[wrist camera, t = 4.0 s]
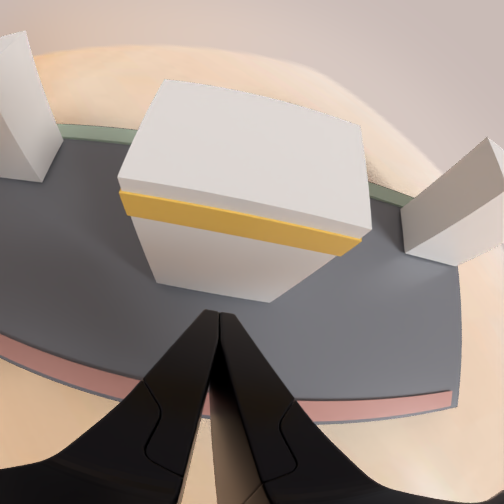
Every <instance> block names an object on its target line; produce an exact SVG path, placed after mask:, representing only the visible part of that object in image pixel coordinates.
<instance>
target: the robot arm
mask: <svg viewBox="0 0 504 504" xmlns="http://www.w3.org/2000/svg"><path fill="white" fill-rule="evenodd" d="M208 387H209V402H210V420H211V435H212V449H213V462H214V474H215V485H216V495H217V504H504V490H502V491H500V492H499V493H497V494H496V495H495V496H493V497H491V498H490V499H488V500H487V501H484V502H478V503H462V502H454V501H447V500H440V499H434V498H429V497H424V496H419V495H414V494H409V493H405V492H401V491H397V490H393V489H389V488H387V487H385V486H382V485H381V484H379V483H377V482H375V481H374V480H372V479H371V478H370V477H368V476H367V475H366V474H365V473H364V472H363V471H362V470H360V469H359V468H358V467H357V466H356V465H355V464H354V463H353V462H352V461H351V460H350V459H349V458H348V457H347V456H346V455H345V454H344V453H343V452H342V451H341V450H340V449H338V448H337V447H336V446H335V445H334V444H333V443H332V442H331V441H330V440H329V438H328V437H327V436H326V435H325V434H324V433H323V432H322V431H321V430H320V429H319V428H318V427H317V426H316V424H315V423H314V422H313V421H312V420H311V418H310V417H309V416H308V415H307V413H306V412H305V411H304V410H303V408H302V407H301V406H300V404H299V403H298V402H297V401H296V400H295V398H294V396H293V395H292V394H291V392H290V391H289V390H288V388H287V387H286V386H285V384H284V383H283V382H282V380H281V379H280V377H279V376H278V375H277V373H276V372H275V371H274V369H273V368H272V366H271V365H270V364H269V362H268V361H267V359H266V358H265V357H264V355H263V354H262V352H261V351H260V350H259V348H258V347H257V345H256V344H255V342H254V341H253V340H252V338H251V337H250V335H249V334H248V332H247V331H246V329H245V328H244V327H243V325H242V324H241V322H240V321H239V319H238V318H237V316H236V315H235V314H233V313H227V312H220V313H219V312H218V311H215V310H209V309H204V310H203V311H202V312H201V313H200V314H199V315H198V316H197V318H196V319H195V320H194V321H193V322H192V323H191V324H190V325H189V327H188V328H187V329H186V330H185V331H184V332H183V333H182V335H181V336H180V337H179V338H178V339H177V340H176V341H175V342H174V344H173V345H172V346H171V347H170V348H169V349H168V350H167V352H166V353H165V354H164V355H163V356H162V357H161V358H160V359H159V361H158V362H157V363H156V364H155V365H154V366H153V367H152V368H151V370H150V371H149V372H148V373H147V374H146V375H145V376H144V377H143V379H142V380H141V381H140V382H139V383H138V384H137V385H136V386H135V387H134V389H133V390H132V391H131V392H130V393H129V394H128V395H127V396H126V397H125V398H124V399H123V400H122V401H121V402H120V403H119V404H118V405H117V406H116V407H115V408H114V409H112V410H111V411H110V412H109V413H108V414H107V415H106V416H105V417H103V418H102V419H101V420H100V421H99V422H97V423H96V424H95V425H94V426H92V427H91V428H90V429H89V430H87V431H86V432H85V433H84V434H82V435H81V436H80V437H79V438H77V439H76V440H75V441H74V442H72V443H71V444H70V445H69V446H67V447H66V448H65V449H63V450H62V451H61V452H59V453H58V454H56V455H54V456H52V457H50V458H48V459H46V460H43V461H40V462H36V463H32V464H27V465H22V466H16V467H11V468H5V469H0V504H181V502H182V498H183V493H184V489H185V485H186V480H187V476H188V472H189V468H190V463H191V459H192V455H193V450H194V446H195V442H196V438H197V434H198V429H199V425H200V421H201V417H202V413H203V409H204V404H205V400H206V396H207V392H208ZM294 400H295V401H294Z"/></svg>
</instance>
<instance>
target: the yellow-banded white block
mask: <svg viewBox="0 0 504 504" xmlns="http://www.w3.org/2000/svg"><path fill="white" fill-rule="evenodd" d="M117 178H118V181H119V184H120V187H121V188H120V191H119V195H120V198H121V200H122V203H123V206H124V209H125V211H126V214H127V215H128V216H131V219H132V222H133V224H134V227H135V230H136V232H137V235H138V238H139V240H140V243H141V246H142V248H143V251H144V253H145V256H146V258H147V261H148V263H149V266H150V268H151V270H152V273H153V275H154V278H155V280H156V282H157V283H160V284H165V285H170V286H175V287H180V288H186V289H191V290H196V291H202V292H207V293H213V294H219V295H225V296H230V297H236V298H242V299H249V300H255V301H261V302H268V303H270V302H272V301H273V300H275V299H276V298H278V297H279V296H281V295H282V294H284V293H285V292H286V291H288V290H289V289H291V288H292V287H294V286H295V285H297V284H298V283H299V282H301V281H302V280H304V279H305V278H307V277H308V276H309V275H311V274H312V273H314V272H315V271H316V270H318V269H319V268H321V267H322V266H323V265H325V264H326V263H328V262H329V261H330V260H332V259H333V258H335V257H336V256H340V257H341V256H342V255H344V254H345V253H346V252H348V251H349V250H351V249H352V248H353V247H355V246H356V245H358V244H359V243H360V242H362V237H363V236H364V235H366V234H367V233H368V232H370V231H371V230H372V222H371V208H370V197H369V186H368V177H367V169H366V161H365V153H364V146H363V139H362V133H361V127H360V126H359V125H357V124H354V123H351V122H349V121H346V120H343V119H340V118H337V117H334V116H331V115H328V114H325V113H322V112H319V111H316V110H312V109H309V108H306V107H302V106H299V105H295V104H292V103H288V102H284V101H281V100H277V99H273V98H269V97H265V96H261V95H256V94H252V93H247V92H243V91H238V90H233V89H228V88H222V87H217V86H211V85H205V84H198V83H191V82H184V81H176V80H168V79H164V81H163V83H162V84H161V86H160V88H159V90H158V92H157V93H156V95H155V97H154V99H153V101H152V103H151V105H150V107H149V109H148V111H147V112H146V114H145V116H144V118H143V120H142V122H141V125H140V127H139V129H138V131H137V133H136V135H135V137H134V139H133V141H132V144H131V146H130V148H129V150H128V153H127V155H126V157H125V160H124V162H123V164H122V167H121V169H120V171H119V174H118V176H117Z"/></svg>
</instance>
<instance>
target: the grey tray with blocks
mask: <svg viewBox="0 0 504 504" xmlns="http://www.w3.org/2000/svg"><path fill="white" fill-rule="evenodd" d="M137 131H138V130H133V129H124V128H114V127H103V126H90V125H74V124H56V121H55V119H54V116H53V114H52V111H51V108H50V106H49V103H48V100H47V98H46V95H45V92H44V89H43V87H42V84H41V81H40V78H39V75H38V72H37V69H36V65H35V62H34V59H33V56H32V52H31V49H30V45H29V41H28V38H27V34H26V31H22V32H17V33H13V34H10V35H6V36H3V37H0V358H1V359H4V360H6V361H8V362H10V363H12V364H14V365H16V366H19V367H21V368H23V369H25V370H28V371H30V372H32V373H35V374H37V375H40V376H42V377H45V378H47V379H50V380H52V381H55V382H58V383H61V384H63V385H66V386H69V387H72V388H75V389H78V390H81V391H84V392H87V393H91V394H94V395H97V396H101V397H104V398H108V399H111V400H115V401H119V402H121V401H122V400H123V399H124V398H125V397H126V396H127V395H128V394H129V393H130V392H131V391H132V390H133V389H134V387H135V386H136V385H137V384H138V383H139V382H140V381H141V380H142V379H143V377H144V376H145V375H146V374H147V373H148V372H149V371H150V370H151V368H152V367H153V366H154V365H155V364H156V363H157V362H158V361H159V359H160V358H161V357H162V356H163V355H164V354H165V353H166V352H167V350H168V349H169V348H170V347H171V346H172V345H173V344H174V342H175V341H176V340H177V339H178V338H179V337H180V336H181V335H182V333H183V332H184V331H185V330H186V329H187V328H188V327H189V325H190V324H191V323H192V322H193V321H194V320H195V319H196V318H197V316H198V315H199V314H200V313H201V312H202V311H203V310H204V309H209V310H215V311H218V312H219V313H220V312H227V313H233V314H235V315H236V316H237V318H238V319H239V321H240V322H241V324H242V325H243V327H244V328H245V329H246V331H247V332H248V334H249V335H250V337H251V338H252V340H253V341H254V342H255V344H256V345H257V347H258V348H259V350H260V351H261V352H262V354H263V355H264V357H265V358H266V359H267V361H268V362H269V364H270V365H271V366H272V368H273V369H274V371H275V372H276V373H277V375H278V376H279V377H280V379H281V380H282V382H283V383H284V384H285V386H286V387H287V388H288V390H289V391H290V392H291V394H292V395H293V396H294V398H295V400H296V401H297V402H298V403H299V404H300V406H301V407H302V408H303V410H304V411H305V412H306V413H307V415H308V416H309V417H310V418H311V420H312V421H313V422H314V423H315V424H316V425H319V424H343V423H358V422H369V421H379V420H387V419H395V418H402V417H408V416H415V415H420V414H426V413H431V412H436V411H441V410H445V409H450V408H454V407H457V405H458V396H459V386H460V372H461V348H462V324H461V299H460V285H459V274H458V265H460V264H462V263H465V262H467V261H469V260H471V259H473V258H475V257H477V256H479V255H481V254H483V253H486V252H488V251H490V250H492V249H494V248H496V247H498V246H499V245H501V244H503V243H504V149H502V148H501V147H500V146H499V145H497V144H496V143H495V142H494V141H492V140H491V139H490V138H488V137H486V138H485V139H484V140H483V141H482V142H481V143H480V144H478V145H477V146H476V147H475V148H474V149H473V150H472V151H470V152H469V153H468V154H467V155H466V156H465V157H464V158H462V159H461V160H460V161H459V162H458V163H456V164H455V165H454V166H453V167H452V168H451V169H449V170H448V171H447V172H446V173H445V174H443V175H442V176H441V177H440V178H438V179H437V180H436V181H435V182H434V183H432V184H431V185H430V186H429V187H427V188H426V189H425V190H424V191H423V192H421V193H420V194H419V195H418V196H416V197H415V198H413V197H410V196H408V195H405V194H402V193H400V192H397V191H394V190H391V189H388V188H386V187H383V186H380V185H377V184H374V183H371V182H368V186H369V197H370V208H371V222H372V230H371V231H370V232H368V233H367V234H366V235H364V236H363V237H362V242H360V243H359V244H358V245H356V246H355V247H353V248H352V249H351V250H349V251H348V252H346V253H345V254H344V255H342V256H341V257H340V256H336V257H335V258H333V259H332V260H330V261H329V262H328V263H326V264H325V265H323V266H322V267H321V268H319V269H318V270H316V271H315V272H314V273H312V274H311V275H309V276H308V277H307V278H305V279H304V280H302V281H301V282H299V283H298V284H297V285H295V286H294V287H292V288H291V289H289V290H288V291H286V292H285V293H284V294H282V295H281V296H279V297H278V298H276V299H275V300H273V301H272V302H270V303H268V302H261V301H255V300H249V299H242V298H236V297H230V296H225V295H219V294H213V293H207V292H202V291H196V290H191V289H186V288H180V287H175V286H170V285H165V284H160V283H157V282H156V280H155V278H154V275H153V273H152V270H151V268H150V266H149V263H148V261H147V258H146V256H145V253H144V251H143V248H142V246H141V243H140V240H139V238H138V235H137V232H136V230H135V227H134V224H133V222H132V219H131V216H128V215H127V214H126V211H125V209H124V206H123V203H122V200H121V198H120V195H119V191H120V188H121V187H120V184H119V181H118V178H117V176H118V174H119V171H120V169H121V167H122V164H123V162H124V160H125V157H126V155H127V153H128V150H129V148H130V146H131V144H132V141H133V139H134V137H135V135H136V133H137ZM295 400H294V401H295ZM201 418H206V419H210V402H209V387H208V392H207V396H206V400H205V404H204V409H203V413H202V417H201Z"/></svg>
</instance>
